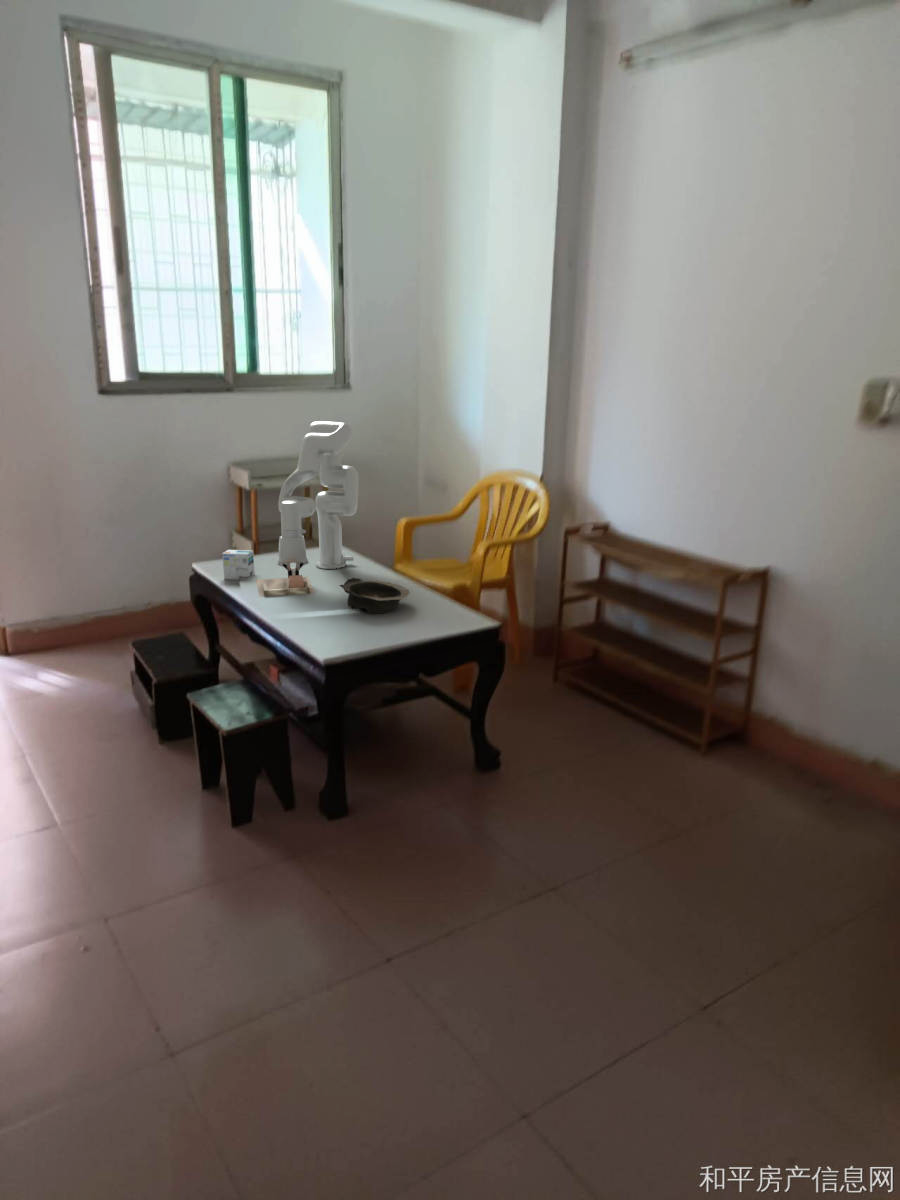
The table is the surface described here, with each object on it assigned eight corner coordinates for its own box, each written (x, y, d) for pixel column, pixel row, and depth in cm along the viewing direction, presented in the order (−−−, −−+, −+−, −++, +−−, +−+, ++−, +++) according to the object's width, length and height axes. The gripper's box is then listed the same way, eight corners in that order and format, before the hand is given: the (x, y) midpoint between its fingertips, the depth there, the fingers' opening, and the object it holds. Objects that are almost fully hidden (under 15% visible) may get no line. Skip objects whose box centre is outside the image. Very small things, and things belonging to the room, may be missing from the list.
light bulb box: (255, 575, 333) (253, 549, 329) (249, 580, 326) (248, 554, 323) (229, 574, 333) (227, 548, 330) (223, 579, 327) (221, 553, 324)
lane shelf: (307, 580, 327) (307, 571, 326) (314, 596, 307) (314, 587, 306) (256, 583, 322) (255, 574, 321) (259, 600, 302) (259, 591, 301)
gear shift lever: (300, 582, 320) (299, 567, 318) (303, 591, 308) (303, 576, 306) (287, 583, 318) (286, 568, 317) (290, 592, 307) (289, 576, 305)
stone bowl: (325, 608, 294) (326, 582, 292) (373, 597, 314) (373, 573, 311) (377, 622, 280) (378, 595, 278) (423, 609, 299) (424, 584, 297)
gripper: (311, 530, 318) (312, 576, 323) (269, 532, 314) (272, 578, 319) (313, 534, 311) (315, 581, 317) (271, 536, 307) (273, 583, 312)
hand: (293, 579), depth 318 cm, fingers closed on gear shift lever, 1 cm apart
